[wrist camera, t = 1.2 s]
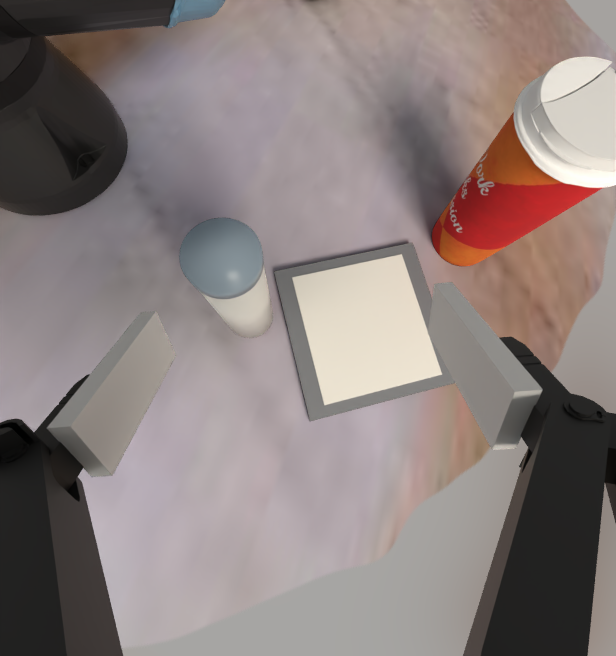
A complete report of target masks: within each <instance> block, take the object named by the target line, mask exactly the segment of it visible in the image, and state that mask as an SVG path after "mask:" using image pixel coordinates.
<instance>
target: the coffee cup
mask: <svg viewBox="0 0 616 656" xmlns="http://www.w3.org/2000/svg"><path fill="white" fill-rule="evenodd" d="M611 63H612V62H611V61H608V60H605V59H601V58H596V57H576V58H571V59H567V60H565V61H562V62H560V63H558V64H557V65H555V66H553V67H552V68H550V69H549V70H548V71H547V72H546V73H545V74H544V75H542V76H540V77H539V78H537V79H535V80H534V81H532V82H530V83H529V84H528V85H527V86H526V87H525V88H524V89H523V90H522V92H521V93H520V94H519V96H518V98H517V101H516V103H515V107H514V112H513V113H512V115H511V116H510V118H509V119H508V121H507V122H506V123H505V125H504V126H503V128H502V129H501V130H500V132H499V133H498V135H497V136H496V138H495V139H494V140H493V142H492V143H491V145H490V146H489V147H488V149H487V150H486V152H485V153H484V154H483V156H482V157H481V159H480V160H479V162H478V163H477V164H476V166H475V167H474V169H473V170H472V171H471V173H470V174H469V176H468V177H467V179H466V180H465V181H464V183H463V184H462V186H461V187H460V188H459V190H458V191H457V193H456V194H455V196H454V197H453V198H452V200H451V201H450V203H449V204H448V206H447V207H446V209H445V210H444V211H443V213H442V214H441V216H440V217H439V219H438V221H437V222H436V224H435V226H434V228H433V231H432V242H433V245H434V248H435V250H436V251H437V253H438V254H439V255H440V256H441V257H442V258H443V259H444V260H445V261H447V262H449V263H451V264H453V265H457V266H470V265H474V264H476V263H478V262H480V261H482V260H484V259H485V258H487V257H489V256H491V255H492V254H494V253H496V252H497V251H499V250H501V249H503V248H504V247H506V246H508V245H509V244H511V243H513V242H514V241H516V240H518V239H519V238H521V237H523V236H524V235H526V234H528V233H529V232H531V231H532V230H534V229H536V228H537V227H539V226H541V225H542V224H544V223H546V222H547V221H549V220H551V219H552V218H554V217H556V216H557V215H559V214H561V213H562V212H564V211H565V210H567V209H569V208H570V207H572V206H574V205H575V204H577V203H579V202H580V201H582V200H584V199H585V198H587V197H589V196H590V195H592V194H594V193H595V192H597V191H598V190H600V189H602V188H603V187H610V186H614V185H616V71H615V70H614V69H612V68H611V67H609V68H608V69H607V70H606V71H604V70H605V69H606V68H607V67H608V66H609V65H610V64H611Z"/></svg>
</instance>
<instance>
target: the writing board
mask: <svg viewBox="0 0 616 656" xmlns="http://www.w3.org/2000/svg"><path fill="white" fill-rule="evenodd" d="M274 274H275V278H276V282H277V287H278V291H279V295H280V299H281V303H282V307H283V311H284V316H285V320H286V324H287V328H288V332H289V336H290V340H291V345H292V349H293V353H294V357H295V361H296V365H297V369H298V374H299V378H300V382H301V386H302V390H303V394H304V399H305V403H306V407H307V411H308V415H309V419H310V421H314V420H317V419H321V418H325V417H329V416H332V415H336V414H340V413H344V412H347V411H351V410H355V409H359V408H363V407H366V406H370V405H374V404H378V403H381V402H385V401H389V400H393V399H396V398H400V397H404V396H408V395H411V394H415V393H419V392H423V391H427V390H430V389H434V388H438V387H442V386H445V385H449V384H453V383H455V381H454V379H453V378H452V376H451V374H450V372H449V370H448V368H447V367H446V365H445V363H444V361H443V359H442V357H441V356H440V354H439V352H438V350H437V348H436V347H435V345H434V343H433V341H432V339H431V337H430V336H429V334H428V328H429V321H430V313H431V306H432V297H431V294H430V291H429V289H428V286H427V283H426V280H425V277H424V274H423V271H422V268H421V265H420V263H419V260H418V257H417V254H416V251H415V248H414V245H413V243H408V244H403V245H398V246H394V247H389V248H384V249H379V250H374V251H370V252H365V253H360V254H355V255H350V256H346V257H341V258H336V259H331V260H326V261H322V262H317V263H312V264H307V265H302V266H298V267H293V268H288V269H283V270H278V271H274Z"/></svg>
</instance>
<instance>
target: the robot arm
mask: <svg viewBox="0 0 616 656" xmlns="http://www.w3.org/2000/svg"><path fill="white" fill-rule="evenodd" d="M224 2H225V0H0V207H1V208H3V209H6V210H9V211H12V212H15V213H20V214H26V215H50V214H57V213H61V212H65V211H69V210H72V209H74V208H77V207H79V206H81V205H83V204H85V203H87V202H89V201H91V200H92V199H94V198H95V197H97V196H98V195H99V194H101V193H102V192H103V191H104V190H105V189H106V188H107V187H108V186H109V185H110V184H111V183H112V182H113V181H114V179H115V178H116V177H117V175H118V174H119V172H120V170H121V168H122V166H123V163H124V161H125V157H126V153H127V134H126V130H125V127H124V124H123V122H122V120H121V118H120V117H119V115H118V113H117V112H116V110H115V109H114V107H113V105H112V104H111V102H110V100H109V99H108V98H107V96H106V95H105V94H104V93H103V91H102V90H101V89H100V88H99V87H98V86H97V85H96V84H95V83H93V82H92V81H91V80H90V79H89V78H88V77H87V76H86V75H85V74H84V73H83V72H82V71H81V70H80V69H79V68H78V67H77V66H76V65H74V64H73V63H72V62H71V61H70V60H69V59H68V58H67V57H66V56H65V55H64V54H63V53H62V52H61V51H59V50H58V49H57V48H56V47H55V46H54V45H53V44H52V43H51V42H50V41H49V40H48V39H47V38H46V37H45V36H52V35H63V34H74V33H85V32H96V31H107V30H119V29H130V28H141V27H152V26H164V27H166V28H171V27H172V26H176V25H177V23H178V22H184V21H190V20H196V19H203V18H209V17H211V16H213V15H214V14H216V13H217V12H218V10H219V9H220V8H221V7H222V6H223V4H224ZM428 334H429V336H430V337H431V339H432V341H433V343H434V345H435V347H436V348H437V350H438V352H439V354H440V356H441V357H442V359H443V361H444V363H445V365H446V367H447V368H448V370H449V372H450V374H451V376H452V378H453V379H454V381H455V383H456V385H457V387H458V388H459V390H460V392H461V394H462V396H463V398H464V399H465V401H466V403H467V405H468V407H469V409H470V410H471V412H472V414H473V416H474V418H475V419H476V421H477V423H478V425H479V427H480V429H481V430H482V432H483V434H484V436H485V438H486V439H487V441H488V443H489V445H490V447H491V449H492V450H496V449H512V448H516V447H517V445H518V443H519V440H520V438H521V437H522V438H523V440H524V441H525V443H526V445H527V446H528V450H527V452H526V454H525V456H524V458H523V460H522V462H521V464H520V466H519V467H521V470H520V473H519V477H518V480H517V483H516V486H515V490H514V493H513V496H512V499H511V502H510V506H509V509H508V512H507V515H506V519H505V522H504V525H503V529H502V531H501V535H500V538H499V541H498V545H497V548H496V551H495V554H494V557H493V561H492V564H491V567H490V570H489V573H488V577H487V580H486V583H485V586H484V590H483V593H482V596H481V599H480V602H479V606H478V609H477V612H476V615H475V619H474V622H473V625H472V628H471V631H470V635H469V638H468V641H467V644H466V648H465V651H464V654H463V656H587V655H588V644H589V634H590V624H591V614H592V603H593V594H594V584H595V574H596V564H597V554H598V544H599V534H600V524H601V513H602V503H603V492H604V483H605V484H606V488H607V491H608V495H609V498H610V503H611V507H612V510H613V515H614V518H615V522H616V414H614V413H608V412H606V411H605V410H604V409H603V408H602V407H601V406H600V405H598V404H597V403H595V402H594V401H592V400H590V399H587V398H585V397H583V396H579V395H574V394H570V393H569V392H568V391H567V389H565V387H564V386H563V385H562V384H561V383H560V382H559V381H558V380H557V379H556V378H555V377H554V375H553V374H552V373H551V372H550V371H549V370H548V369H547V368H546V367H545V366H544V365H543V364H541V362H540V360H539V359H538V358H537V357H536V356H534V354H533V353H532V352H531V351H530V350H529V349H528V348H527V347H526V345H525V344H523V343H521V342H519V341H518V340H516V339H514V338H513V337H502V338H499V337H498V336H497V335H496V334H495V332H494V331H493V330H492V329H491V328H490V327H489V325H488V324H487V323H486V322H485V321H484V320H483V318H482V317H481V316H480V315H479V314H478V312H477V311H476V310H475V309H474V308H473V307H472V305H471V304H470V303H469V302H468V301H467V299H466V298H465V297H464V296H463V295H462V294H461V292H460V291H459V290H458V289H457V288H456V287H455V285H454V284H453V283H452V282H447V283H437V284H434V291H433V299H432V306H431V313H430V321H429V328H428ZM175 356H176V354H175V352H174V349H173V347H172V345H171V343H170V341H169V339H168V336H167V334H166V332H165V330H164V328H163V325H162V323H161V321H160V319H159V317H158V314H157V312H156V311H153V312H143V313H140V314H139V315H138V317H137V318H136V319H135V320H134V321H133V323H132V324H131V325H130V326H129V328H128V329H127V330H126V331H125V333H124V334H123V335H122V336H121V337H120V339H119V340H118V341H117V342H116V344H115V345H114V346H113V347H112V348H111V350H110V351H109V352H108V353H107V355H106V356H105V357H104V358H103V360H102V361H101V362H100V363H99V364H98V366H97V367H96V368H95V369H94V371H93V372H92V373H91V374H89V375H86V376H85V377H84V378H82V379H81V380H80V381H78V382H77V383H76V384H75V385H74V386H73V387H72V388H71V389H70V391H69V392H68V393H67V394H66V397H64V398H63V399H62V400H61V401H60V402H59V405H57V406H56V407H55V408H54V410H53V411H52V412H51V413H50V414H49V416H48V417H47V418H46V419H45V420H44V421H43V423H42V424H41V425H40V426H39V427H38V429H37V430H36V431H35V432H33V431H32V430H31V429H30V428H29V427H28V426H27V425H26V424H25V423H24V422H23V421H22V420H20V419H11V420H6V421H4V422H1V423H0V656H123V653H122V649H121V645H120V641H119V636H118V632H117V628H116V624H115V619H114V615H113V611H112V607H111V603H110V598H109V594H108V590H107V586H106V581H105V577H104V573H103V569H102V565H101V560H100V556H99V552H98V548H97V543H96V539H95V535H94V531H93V527H92V522H91V518H90V514H89V510H88V505H87V501H86V497H85V493H84V489H83V484H82V482H81V481H80V479H79V478H78V475H79V474H80V472H81V470H82V469H83V468H84V469H85V470H86V471H87V472H88V473H89V474H90V476H91V477H99V476H112V475H113V474H114V472H115V470H116V468H117V466H118V464H119V462H120V460H121V458H122V457H123V455H124V453H125V451H126V449H127V447H128V445H129V443H130V441H131V440H132V438H133V436H134V434H135V432H136V430H137V428H138V426H139V424H140V423H141V421H142V419H143V417H144V415H145V413H146V411H147V409H148V407H149V406H150V404H151V402H152V400H153V398H154V396H155V394H156V392H157V390H158V388H159V387H160V385H161V383H162V381H163V379H164V377H165V375H166V373H167V371H168V370H169V368H170V366H171V364H172V362H173V360H174V358H175Z"/></svg>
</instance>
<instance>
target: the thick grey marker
mask: <svg viewBox="0 0 616 656" xmlns="http://www.w3.org/2000/svg"><path fill="white" fill-rule="evenodd" d="M179 258H180V265H181V268H182V271H183V273H184V274H185V276H186V277H187V279H188V280H189V281H190V282H191V283H192V284H193V286H194V287H195V288H196V289H197V290H198V291H200V292H201V294H202V295H203V296H204V297H205V298H206V300H207V301H208V302H209V303H210V304H211V306H212V307H213V308H214V309H215V310H216V312H217V313H218V314H219V315H220V316H221V318H222V319H223V320H224V321H225V322H226V324H227V325H228V326H229V327H230V328H231V330H232V331H233V332H234V333H235V334H237V335H239V336H241V337H244V338H255V337H259V336H261V335H262V334H264V333H265V332H266V331H267V330H268V329H269V328H270V326H271V324H272V321H273V311H272V305H271V300H270V295H269V290H268V284H267V279H266V274H265V269H264V259H263V253H262V248H261V244H260V241H259V239H258V237H257V235H256V234H255V233H254V231H253V230H252V229H251V228H249V227H248V226H247V225H245V224H244V223H242V222H240V221H237V220H235V219H230V218H214V219H210V220H207V221H204V222H202V223H200V224H198V225H197V226H195V227H194V228H193V229H192V230H191V231H190V232H189V233H188V234H187V235H186V237H185V238H184V240H183V242H182V245H181V248H180V256H179Z"/></svg>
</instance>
